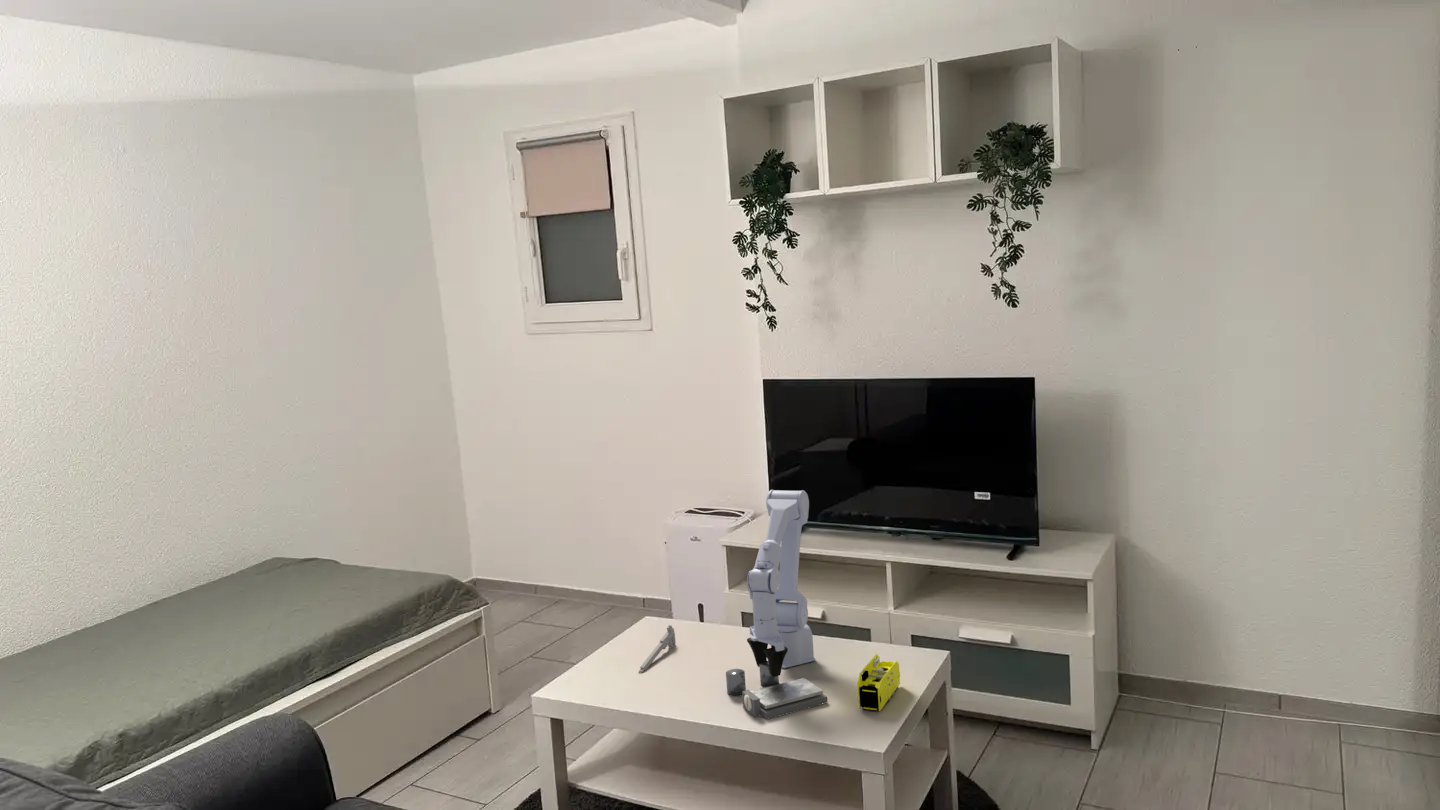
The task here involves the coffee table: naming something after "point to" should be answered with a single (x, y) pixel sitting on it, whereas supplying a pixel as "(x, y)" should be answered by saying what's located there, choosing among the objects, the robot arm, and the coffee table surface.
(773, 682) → the block
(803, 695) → the pan
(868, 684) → the yellow toy chassis
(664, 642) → the caliper
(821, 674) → the coffee table surface
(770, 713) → the scale base
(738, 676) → the cylinder
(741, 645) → the coffee table surface
